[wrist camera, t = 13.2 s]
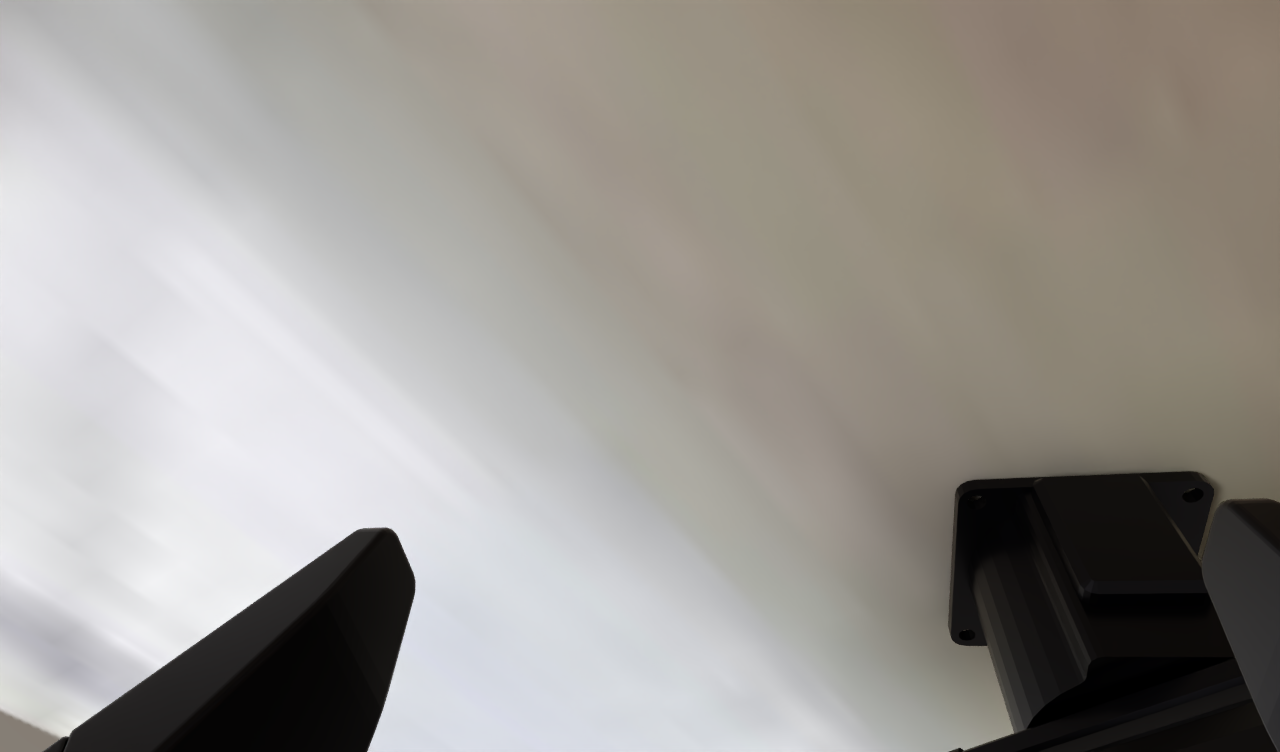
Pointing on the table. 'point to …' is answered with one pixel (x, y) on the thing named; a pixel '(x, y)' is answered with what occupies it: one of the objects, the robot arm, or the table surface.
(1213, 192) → the table surface
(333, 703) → the robot arm
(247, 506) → the table surface
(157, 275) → the table surface
